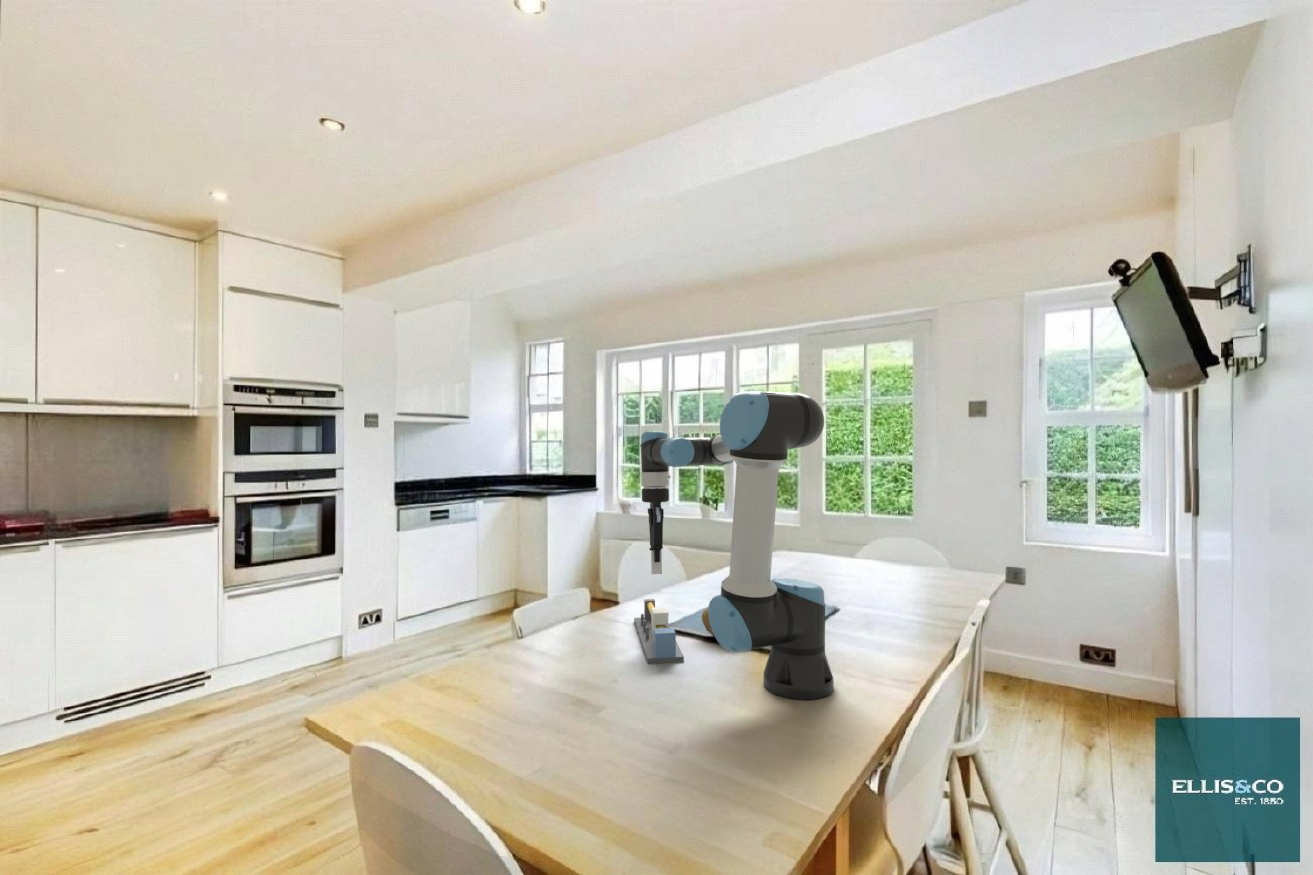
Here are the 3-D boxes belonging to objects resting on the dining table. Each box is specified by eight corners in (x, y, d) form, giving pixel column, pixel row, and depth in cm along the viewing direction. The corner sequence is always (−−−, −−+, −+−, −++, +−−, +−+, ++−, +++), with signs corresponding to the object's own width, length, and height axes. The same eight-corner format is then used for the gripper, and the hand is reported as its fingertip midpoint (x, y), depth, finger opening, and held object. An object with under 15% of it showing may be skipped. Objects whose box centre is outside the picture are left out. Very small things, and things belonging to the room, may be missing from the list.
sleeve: (668, 637, 155) (668, 612, 155) (653, 637, 155) (653, 613, 155) (665, 630, 160) (665, 607, 160) (651, 631, 160) (651, 607, 160)
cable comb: (683, 661, 148) (683, 632, 148) (647, 663, 147) (647, 633, 147) (663, 620, 182) (663, 596, 182) (634, 621, 181) (634, 597, 181)
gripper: (672, 488, 159) (673, 577, 159) (665, 485, 172) (666, 568, 172) (644, 489, 158) (645, 579, 158) (639, 486, 171) (640, 569, 171)
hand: (656, 573), depth 165 cm, fingers closed
